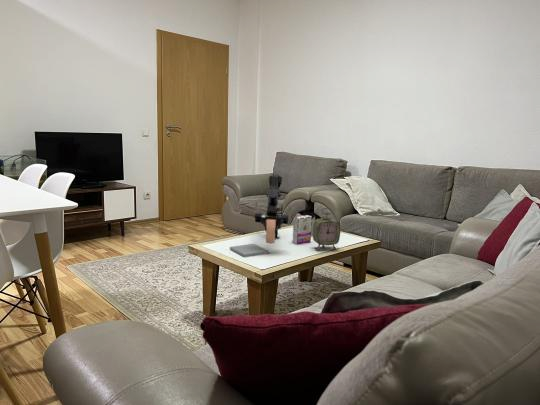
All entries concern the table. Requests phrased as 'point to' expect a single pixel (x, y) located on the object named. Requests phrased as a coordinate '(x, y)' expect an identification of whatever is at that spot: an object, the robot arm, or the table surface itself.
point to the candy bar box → (302, 229)
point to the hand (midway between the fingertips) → (270, 231)
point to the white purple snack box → (312, 219)
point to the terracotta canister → (270, 231)
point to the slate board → (249, 250)
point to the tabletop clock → (326, 230)
